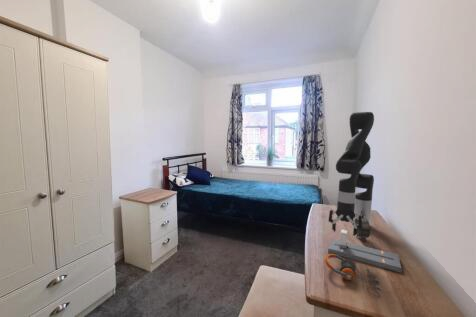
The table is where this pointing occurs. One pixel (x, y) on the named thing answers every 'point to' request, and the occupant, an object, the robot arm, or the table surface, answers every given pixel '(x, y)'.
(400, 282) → the table surface
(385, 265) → the console
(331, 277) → the table surface
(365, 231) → the alarm clock
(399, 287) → the table surface
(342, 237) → the fader
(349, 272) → the headphones
